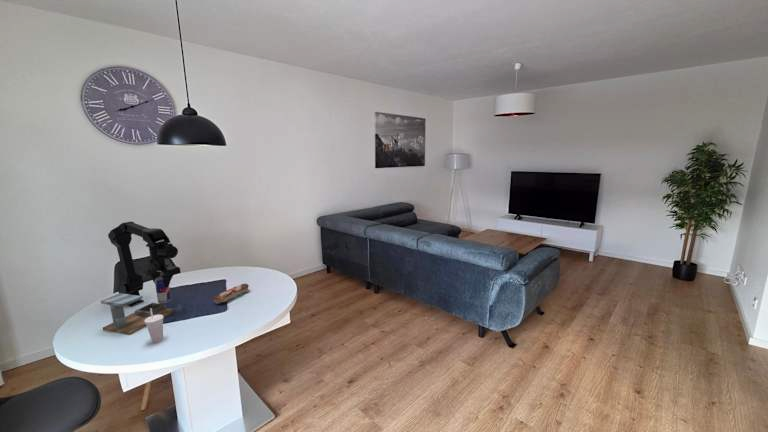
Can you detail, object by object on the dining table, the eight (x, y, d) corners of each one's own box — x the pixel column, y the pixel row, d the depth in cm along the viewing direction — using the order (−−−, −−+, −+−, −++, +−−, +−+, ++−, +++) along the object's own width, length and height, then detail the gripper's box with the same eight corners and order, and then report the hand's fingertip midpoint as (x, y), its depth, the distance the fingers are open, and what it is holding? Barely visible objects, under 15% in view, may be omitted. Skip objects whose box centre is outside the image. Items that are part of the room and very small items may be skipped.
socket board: (102, 330, 139) (96, 301, 136) (149, 307, 159) (144, 282, 156) (130, 334, 135) (124, 305, 132) (174, 311, 155) (170, 285, 152)
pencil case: (209, 301, 165) (208, 292, 164) (244, 288, 180) (243, 280, 179) (219, 307, 158) (218, 298, 157) (255, 293, 174) (254, 285, 173)
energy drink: (164, 304, 152) (161, 280, 149) (155, 303, 153) (151, 279, 150) (173, 299, 157) (170, 276, 155) (164, 298, 158) (161, 275, 156)
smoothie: (154, 335, 134) (149, 305, 131) (170, 334, 134) (165, 304, 131) (144, 344, 127) (138, 312, 125) (161, 343, 128) (155, 311, 125)
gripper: (125, 259, 145) (130, 291, 148) (157, 263, 140) (162, 295, 143) (148, 252, 155) (152, 282, 158) (179, 255, 151) (183, 285, 154)
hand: (162, 286), depth 153 cm, fingers closed on energy drink, 5 cm apart
